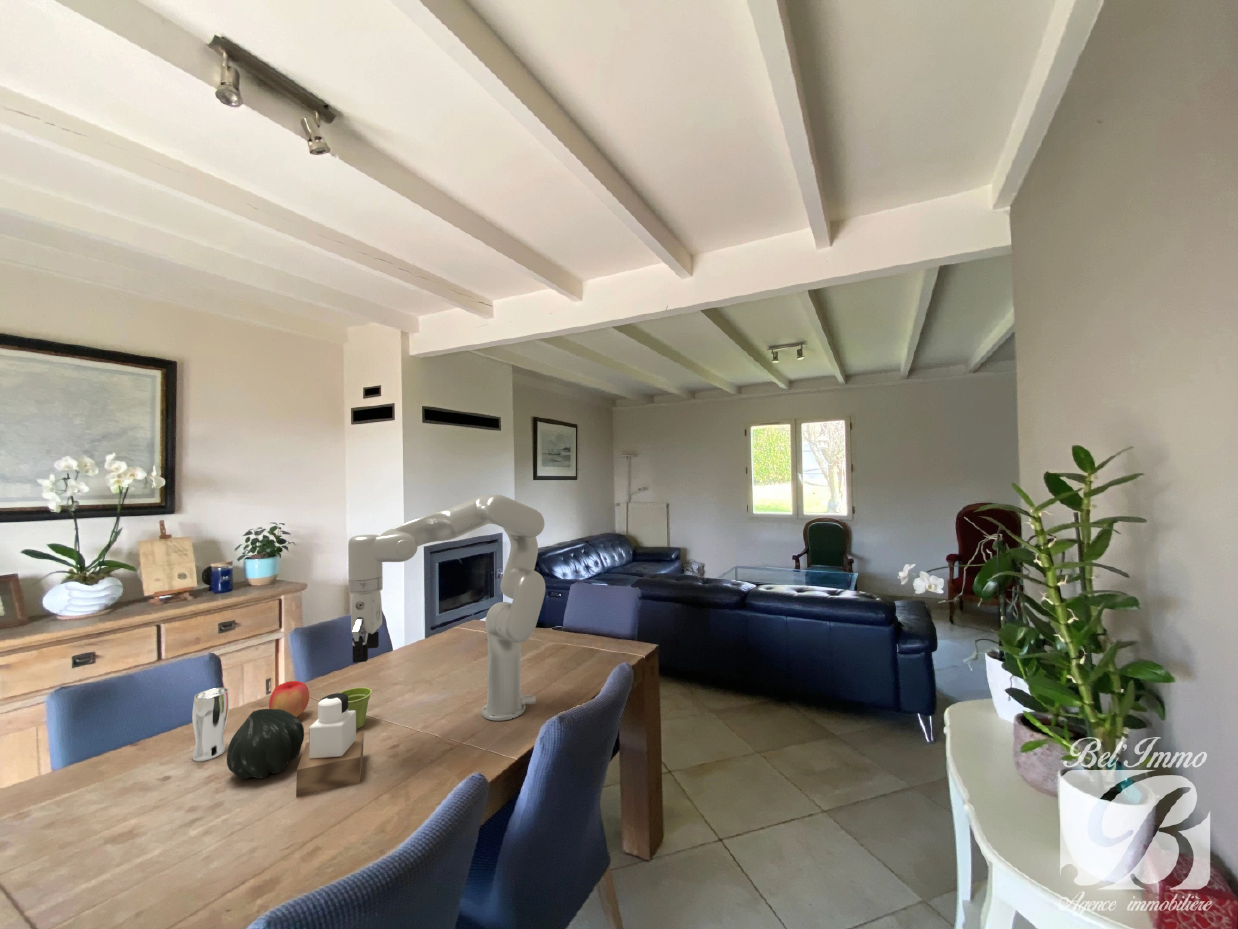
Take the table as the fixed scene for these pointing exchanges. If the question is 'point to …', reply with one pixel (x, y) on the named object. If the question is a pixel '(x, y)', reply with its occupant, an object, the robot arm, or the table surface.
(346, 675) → the table surface
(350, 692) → the plant pot
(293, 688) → the apple
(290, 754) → the squash
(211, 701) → the silver metal vase
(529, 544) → the robot arm
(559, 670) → the table surface
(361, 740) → the walnut block
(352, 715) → the medicine bottle
